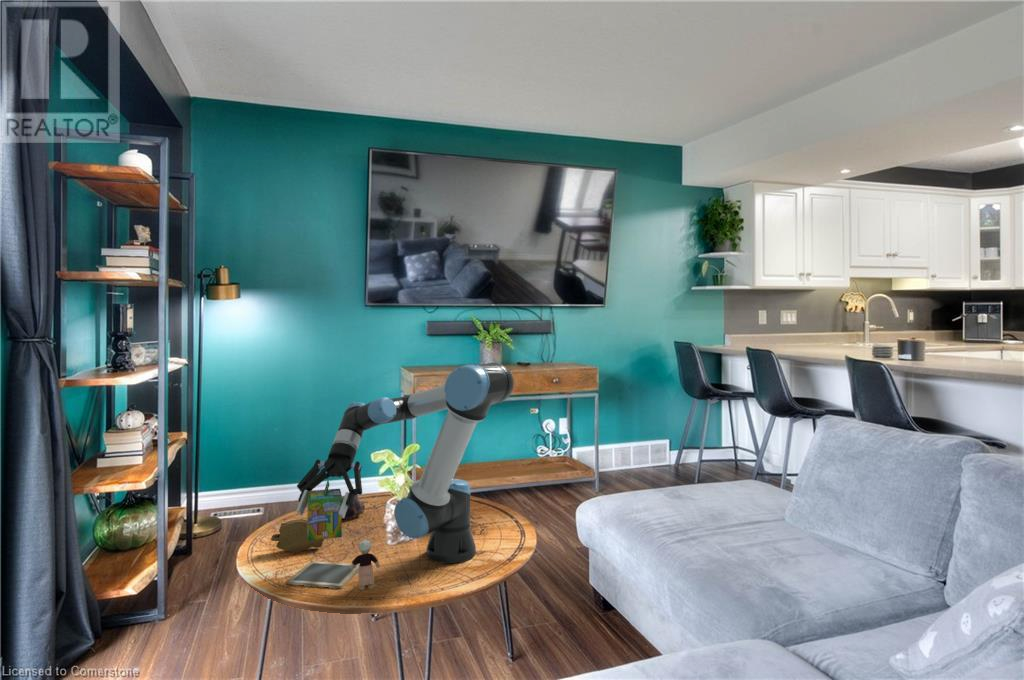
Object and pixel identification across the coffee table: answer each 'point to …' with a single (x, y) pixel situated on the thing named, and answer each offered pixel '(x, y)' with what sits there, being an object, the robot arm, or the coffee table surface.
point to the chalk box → (324, 514)
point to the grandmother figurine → (365, 565)
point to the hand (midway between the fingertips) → (320, 514)
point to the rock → (354, 508)
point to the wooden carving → (295, 537)
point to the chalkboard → (324, 574)
